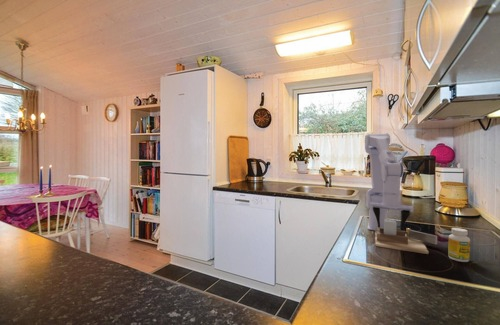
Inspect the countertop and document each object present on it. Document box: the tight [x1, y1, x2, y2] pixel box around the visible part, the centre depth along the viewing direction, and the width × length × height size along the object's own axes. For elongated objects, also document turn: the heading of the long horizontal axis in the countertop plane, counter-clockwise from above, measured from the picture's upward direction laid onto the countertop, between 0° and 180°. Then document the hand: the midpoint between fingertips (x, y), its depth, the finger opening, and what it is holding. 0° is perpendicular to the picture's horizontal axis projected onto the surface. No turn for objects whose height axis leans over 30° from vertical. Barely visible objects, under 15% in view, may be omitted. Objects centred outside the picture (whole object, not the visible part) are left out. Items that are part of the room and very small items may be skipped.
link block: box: [384, 218, 398, 235], centre depth 97 cm, size 4×4×7 cm
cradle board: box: [374, 228, 429, 255], centre depth 96 cm, size 18×16×3 cm
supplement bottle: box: [447, 227, 471, 263], centre depth 81 cm, size 5×5×10 cm
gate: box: [405, 227, 438, 246], centre depth 95 cm, size 10×1×3 cm, turn 34°
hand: (390, 228), depth 97 cm, fingers open, 7 cm apart
